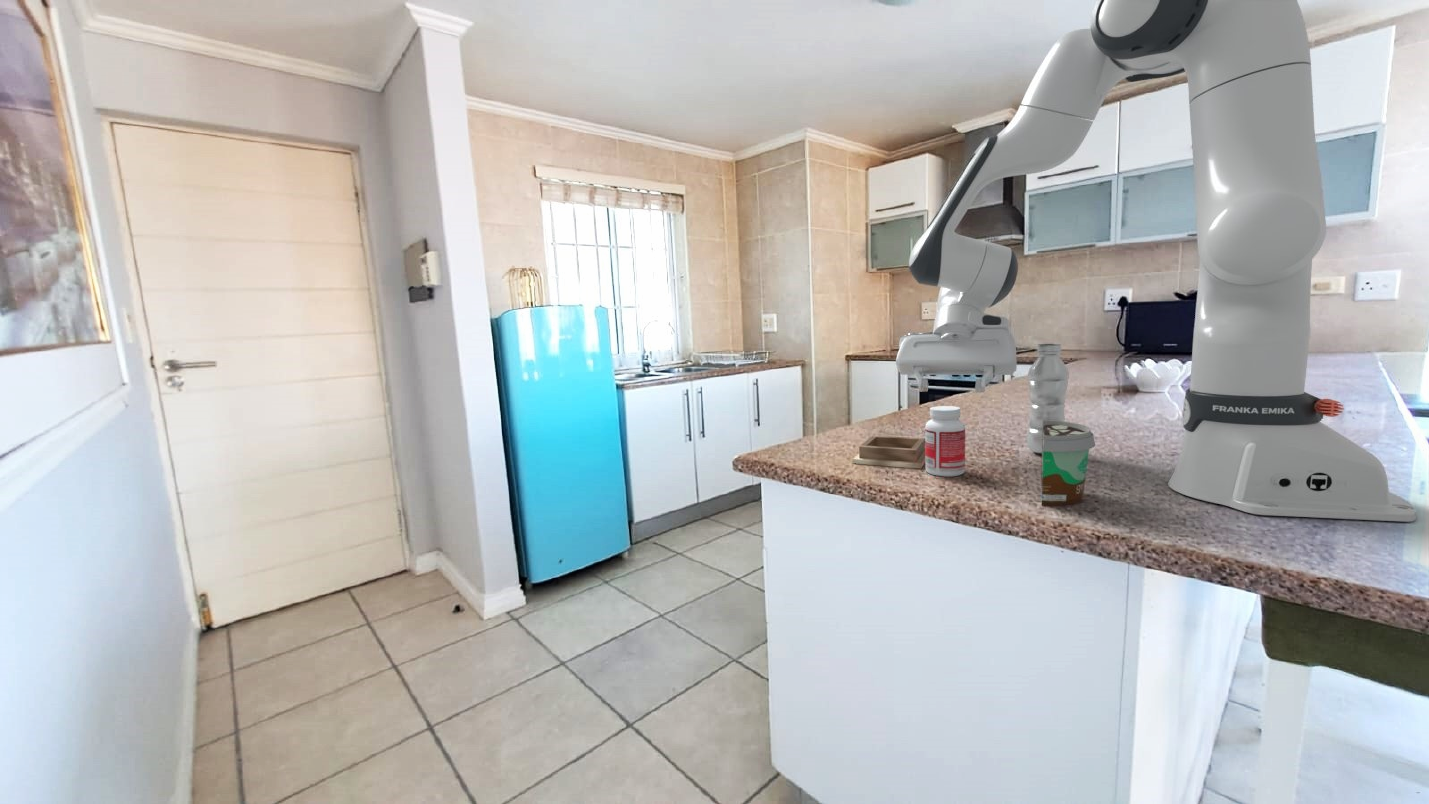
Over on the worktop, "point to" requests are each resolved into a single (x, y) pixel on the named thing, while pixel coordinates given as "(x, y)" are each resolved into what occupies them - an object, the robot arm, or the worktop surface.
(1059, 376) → the plastic bottle
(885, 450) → the brown wooden square tray
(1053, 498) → the food container
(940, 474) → the pill bottle
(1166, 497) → the worktop surface
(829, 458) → the worktop surface
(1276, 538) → the worktop surface
